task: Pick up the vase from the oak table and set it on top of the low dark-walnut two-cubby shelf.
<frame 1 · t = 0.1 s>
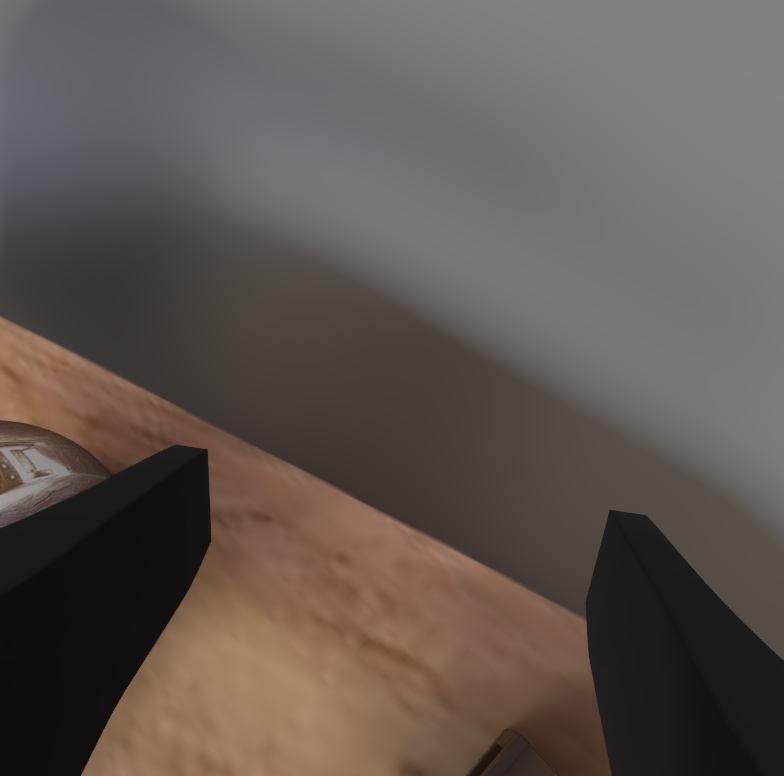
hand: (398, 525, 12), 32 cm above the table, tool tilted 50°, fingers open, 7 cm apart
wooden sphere: (56, 580, 44), on the table
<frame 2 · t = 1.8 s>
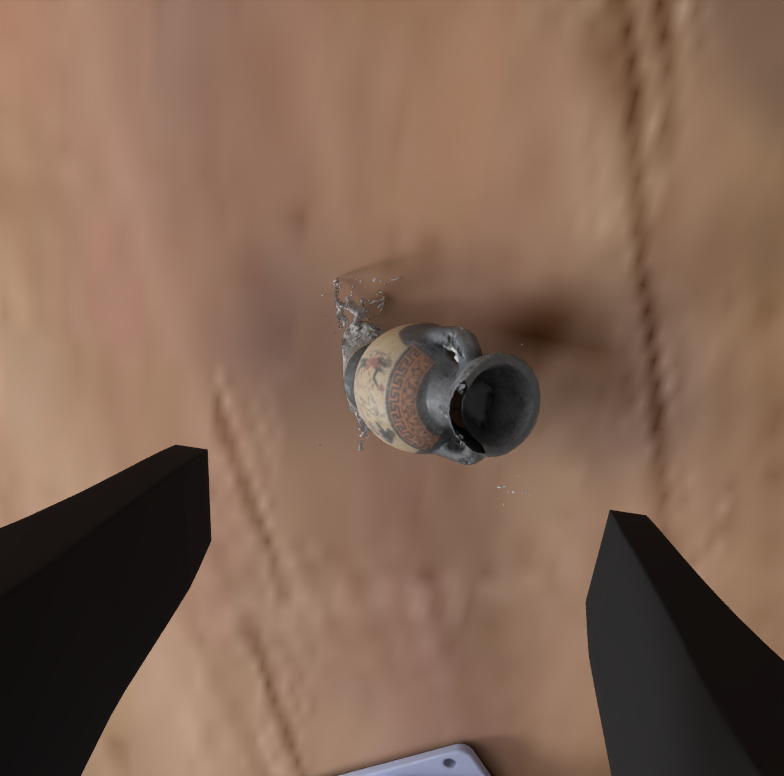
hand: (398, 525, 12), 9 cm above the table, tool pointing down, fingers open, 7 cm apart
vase: (441, 341, 21), on the table
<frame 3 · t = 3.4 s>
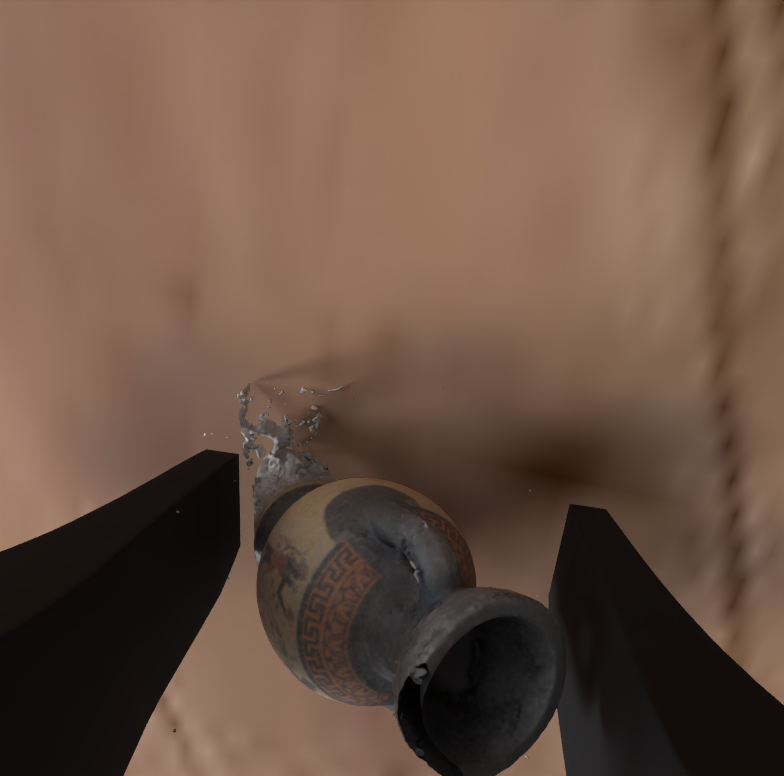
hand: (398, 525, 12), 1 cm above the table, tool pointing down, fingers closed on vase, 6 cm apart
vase: (408, 476, 14), on the table, touching gripper
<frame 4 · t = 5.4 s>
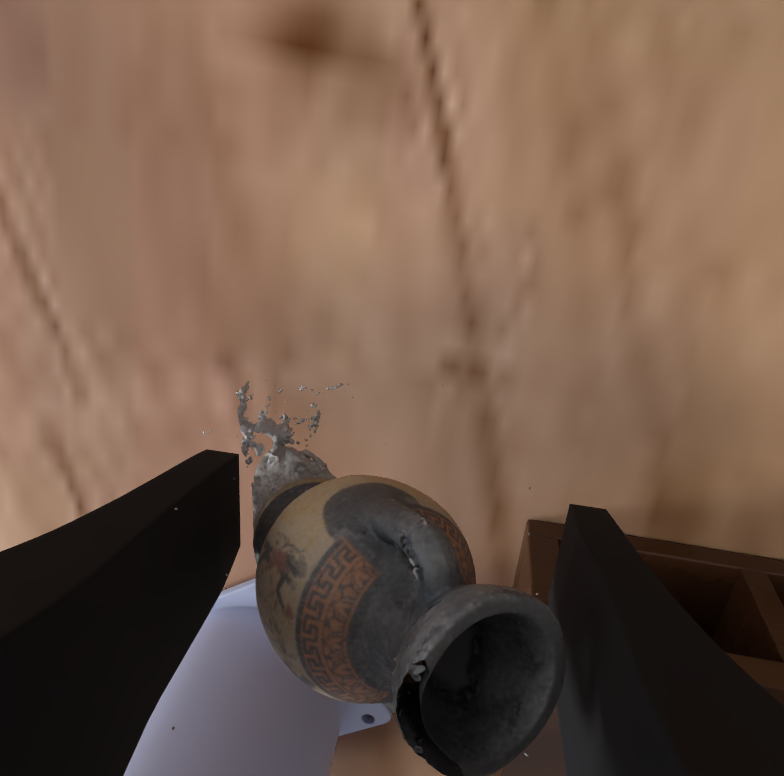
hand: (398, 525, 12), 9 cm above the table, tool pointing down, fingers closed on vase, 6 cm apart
shelf: (709, 644, 24), on the table
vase: (407, 474, 14), point 8 cm above the table, touching gripper
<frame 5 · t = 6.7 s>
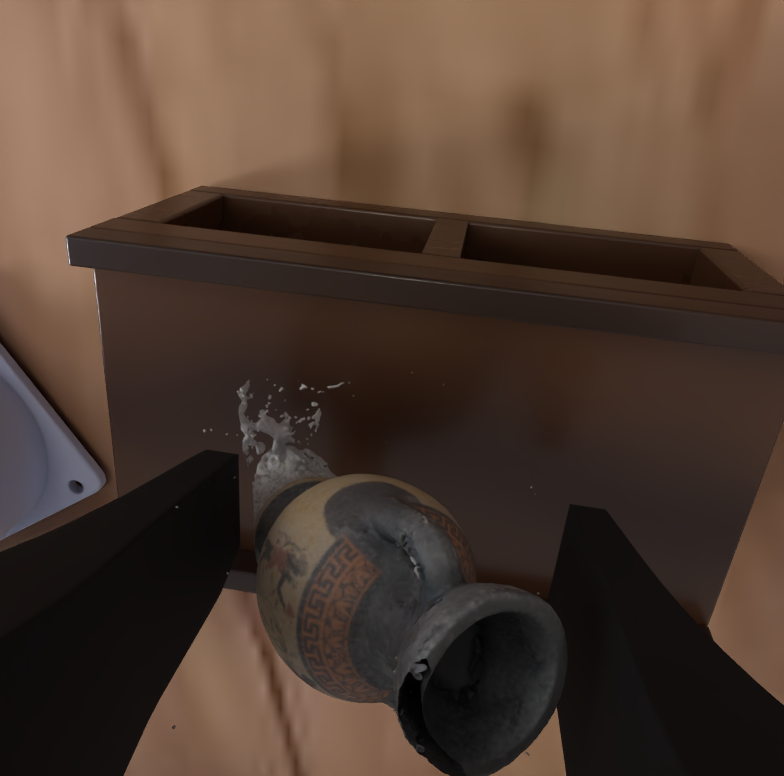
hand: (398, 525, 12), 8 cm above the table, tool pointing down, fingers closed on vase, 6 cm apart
shelf: (438, 353, 20), on the table
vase: (408, 473, 14), point 7 cm above the table, touching gripper
when the fingers open (7 cm above the table, at t = 7.7 s): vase stays where it is, resting on shelf.
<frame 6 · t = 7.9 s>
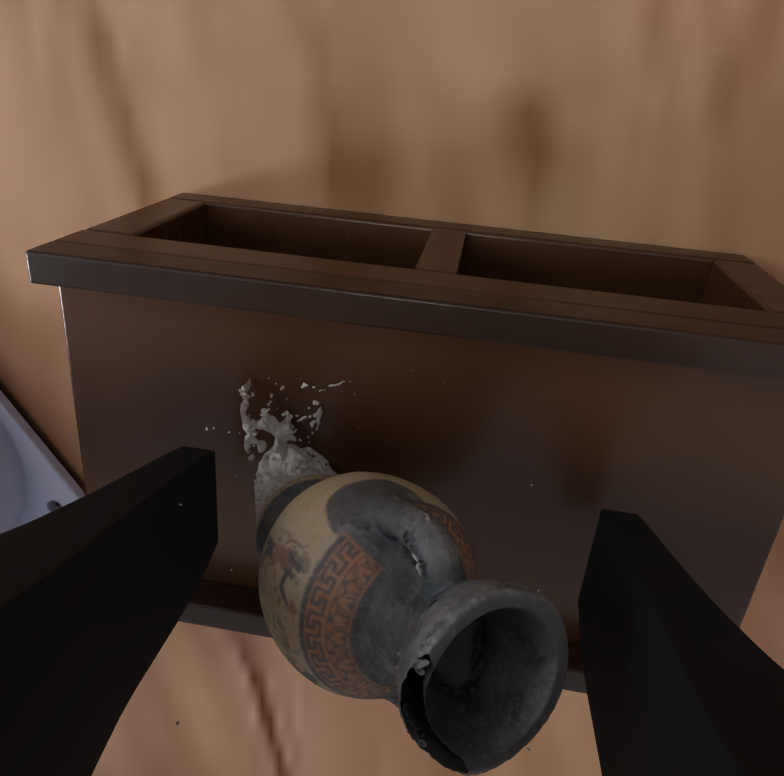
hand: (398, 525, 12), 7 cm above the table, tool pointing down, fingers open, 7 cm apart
shelf: (434, 370, 19), on the table
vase: (409, 471, 14), point 5 cm above the table, touching shelf
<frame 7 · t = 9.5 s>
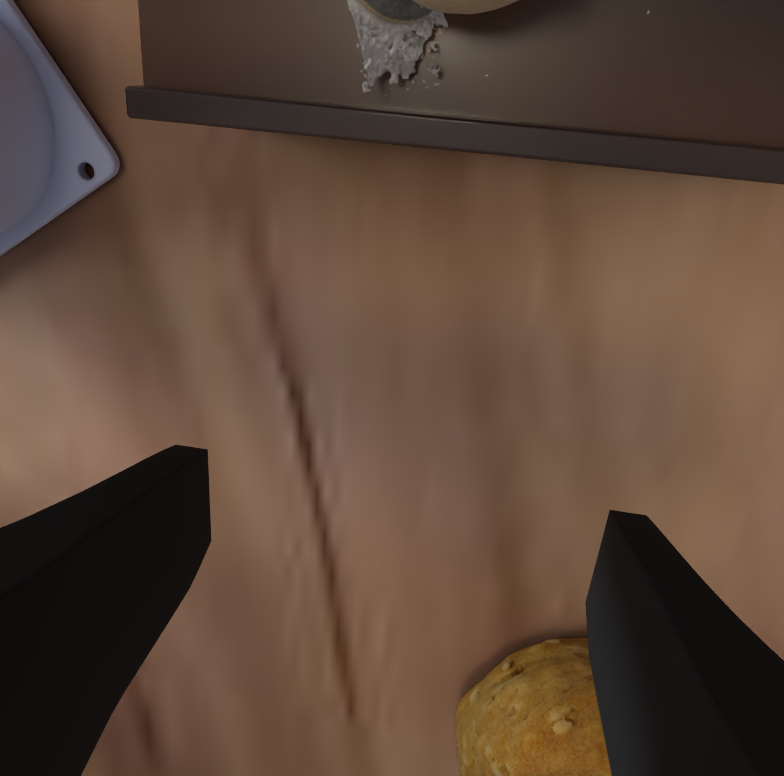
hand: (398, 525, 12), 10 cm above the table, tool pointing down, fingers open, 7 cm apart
bagel: (579, 713, 28), on the table
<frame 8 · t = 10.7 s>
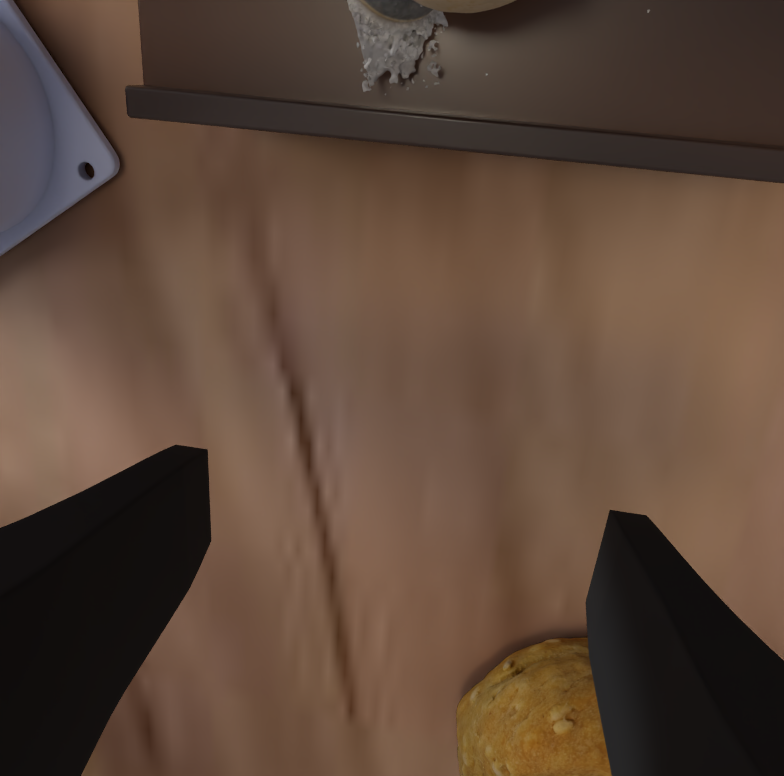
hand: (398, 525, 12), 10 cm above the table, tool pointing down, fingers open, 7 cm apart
bagel: (580, 713, 28), on the table
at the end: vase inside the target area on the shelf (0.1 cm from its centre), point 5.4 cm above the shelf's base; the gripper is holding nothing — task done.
